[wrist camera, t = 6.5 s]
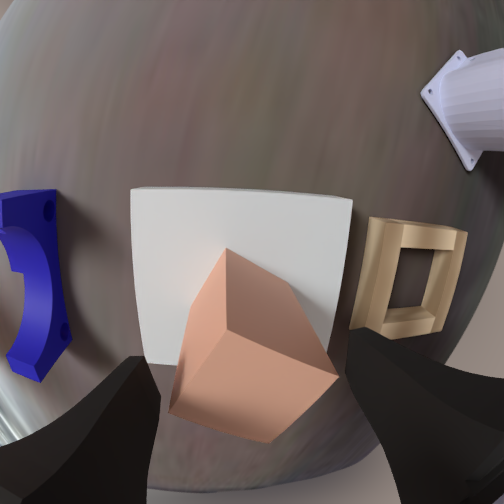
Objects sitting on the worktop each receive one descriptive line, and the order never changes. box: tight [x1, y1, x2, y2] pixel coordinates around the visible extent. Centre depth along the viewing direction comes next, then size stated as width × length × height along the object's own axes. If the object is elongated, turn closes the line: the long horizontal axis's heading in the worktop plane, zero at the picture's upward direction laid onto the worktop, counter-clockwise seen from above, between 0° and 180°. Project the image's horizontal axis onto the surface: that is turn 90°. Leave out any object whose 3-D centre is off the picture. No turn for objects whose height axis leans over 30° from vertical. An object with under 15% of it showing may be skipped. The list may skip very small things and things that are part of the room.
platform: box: [131, 187, 353, 365], centre depth 16 cm, size 12×11×2 cm
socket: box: [349, 217, 468, 340], centre depth 18 cm, size 9×9×2 cm
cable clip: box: [0, 189, 72, 383], centre depth 13 cm, size 12×4×6 cm, turn 174°
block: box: [168, 248, 339, 444], centre depth 11 cm, size 4×4×8 cm
